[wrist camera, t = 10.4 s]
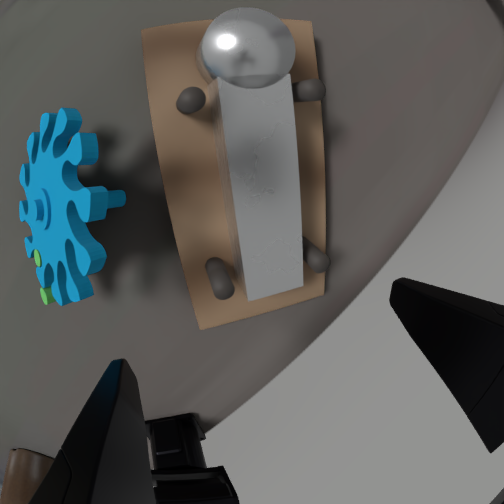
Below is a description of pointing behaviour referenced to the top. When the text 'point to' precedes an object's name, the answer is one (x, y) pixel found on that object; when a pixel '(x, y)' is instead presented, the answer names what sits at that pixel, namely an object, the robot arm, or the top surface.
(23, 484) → the plant pot
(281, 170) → the ball knob lever
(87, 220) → the gear
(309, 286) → the peg rack
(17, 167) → the top surface
